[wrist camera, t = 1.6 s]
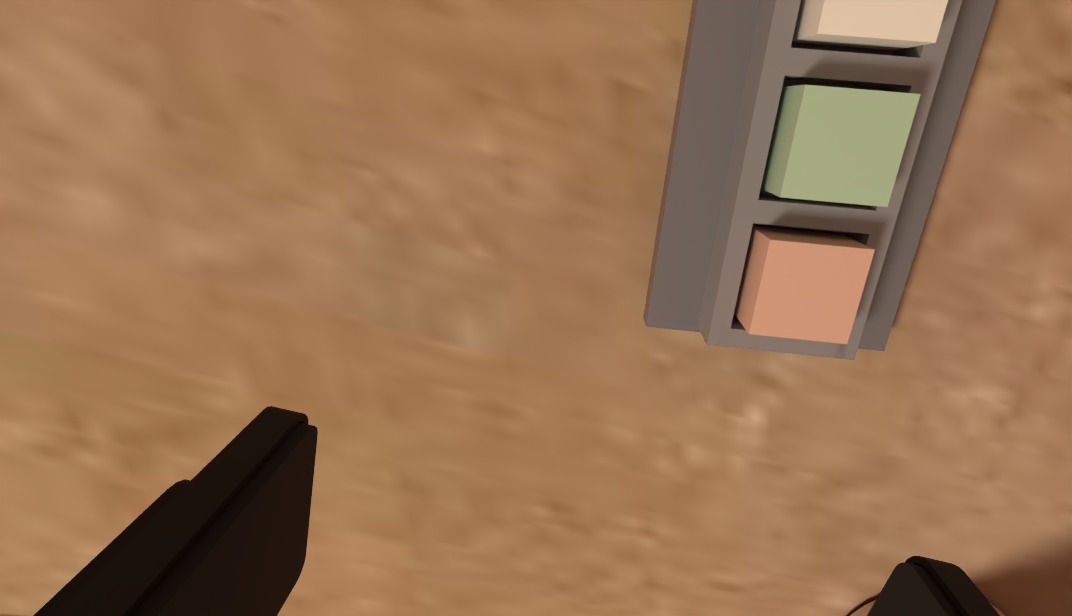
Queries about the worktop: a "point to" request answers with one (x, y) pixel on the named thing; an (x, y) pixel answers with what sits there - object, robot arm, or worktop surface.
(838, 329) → the terracotta key
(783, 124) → the sage key
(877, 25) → the cream key
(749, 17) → the console
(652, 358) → the worktop surface
